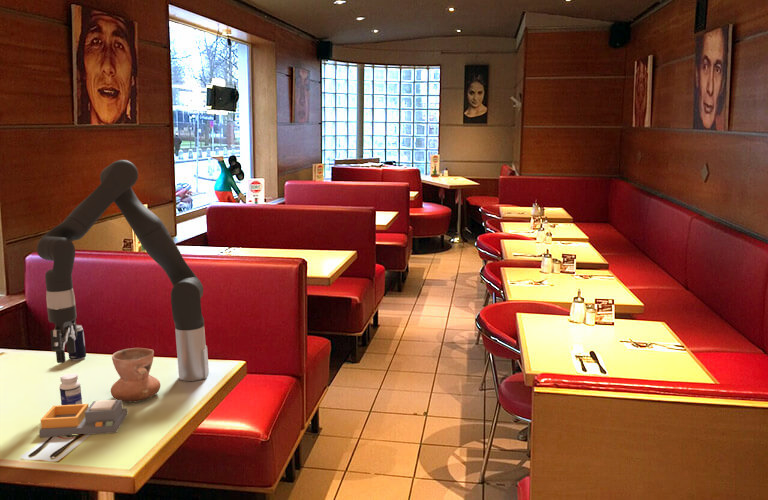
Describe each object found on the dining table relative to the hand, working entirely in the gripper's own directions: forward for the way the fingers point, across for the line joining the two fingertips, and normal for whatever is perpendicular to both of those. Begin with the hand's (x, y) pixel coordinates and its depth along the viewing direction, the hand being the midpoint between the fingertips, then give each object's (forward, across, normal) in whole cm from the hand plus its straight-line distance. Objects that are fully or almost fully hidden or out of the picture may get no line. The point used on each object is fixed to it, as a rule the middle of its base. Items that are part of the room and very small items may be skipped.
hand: (66, 357), depth 208 cm
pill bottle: (+16, 0, 0) cm, 16 cm away
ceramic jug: (+16, -6, +17) cm, 24 cm away
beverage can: (+16, -46, -13) cm, 50 cm away
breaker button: (+13, +14, +14) cm, 24 cm away
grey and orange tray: (+15, +14, +8) cm, 23 cm away
